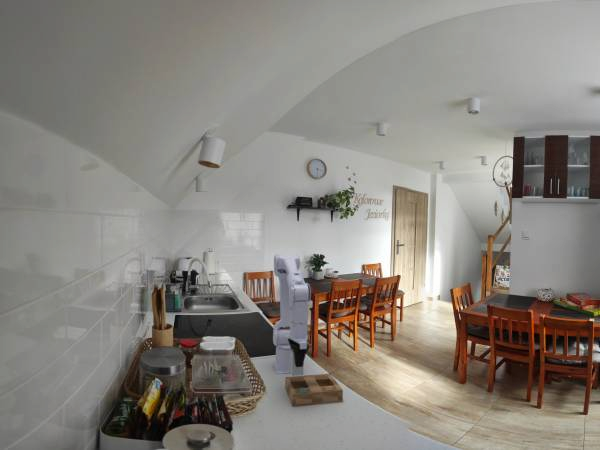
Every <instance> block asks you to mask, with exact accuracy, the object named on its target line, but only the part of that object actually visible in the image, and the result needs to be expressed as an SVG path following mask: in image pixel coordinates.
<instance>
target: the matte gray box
mask: <svg viewBox="0 0 600 450" xmlns="http://www.w3.org/2000/svg"><path fill="white" fill-rule="evenodd" d="M304 366H305V365H304V363H303V366H302V367H296V365H295V358H294V352H293V349H291V354H290V372H291V373H290V374H291V377H292V376H304Z"/></svg>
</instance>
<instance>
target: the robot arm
mask: <svg viewBox="0 0 600 450" xmlns="http://www.w3.org/2000/svg"><path fill="white" fill-rule="evenodd" d="M300 267H301V257H300V255H299V254H298V253H296V254H294V253H293V254H290V253H288V254H287V253H286V254H285V253H283V254H282V253H280V254H279V253H275V254H274V257H273V273H274V276H276V277H278V280H279V304H280V305H279V309H280V310H279V311H280V312H279V313H280V318H279V321H277V322H275V323H274V325H273V330H272V342H273V345H274V346H275V362H273V367H274V370H275V373H276V374H277V375H282V374H291V372H290V354H291V349H293V352H294V358H295V365H296V367H302V366H303V363H304V362H305V359H306V355H307V352H308V351H309V349H310V345H309V344H308V337H309V334H308V326H309V324H308V322H309V321H308V320H309V303H310V302H311V299H312V298H311V297H312V291H311V286H310V283H308V282H305V279H304V277H303V274H302V272H300V271H299V269H300Z"/></svg>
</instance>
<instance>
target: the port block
mask: <svg viewBox="0 0 600 450" xmlns="http://www.w3.org/2000/svg"><path fill="white" fill-rule="evenodd" d="M284 377H285V378H284V387H285V388H284V389H285V392H286V393H287V396H288V398H289V401H290V403H291V406H292V407H299V406H311V405H318V404H322V405H323V404H329V403H340V402H343V399H344V398H343V397H344V395H343V393H344V391H343V388H342V387H341V386H340V384H339V383H338V382H337V380H336V379H335V378H334V377H333V374H331V373H323V374H321V373H320V374H309V375H293V376H292V375H291V376H284Z"/></svg>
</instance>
